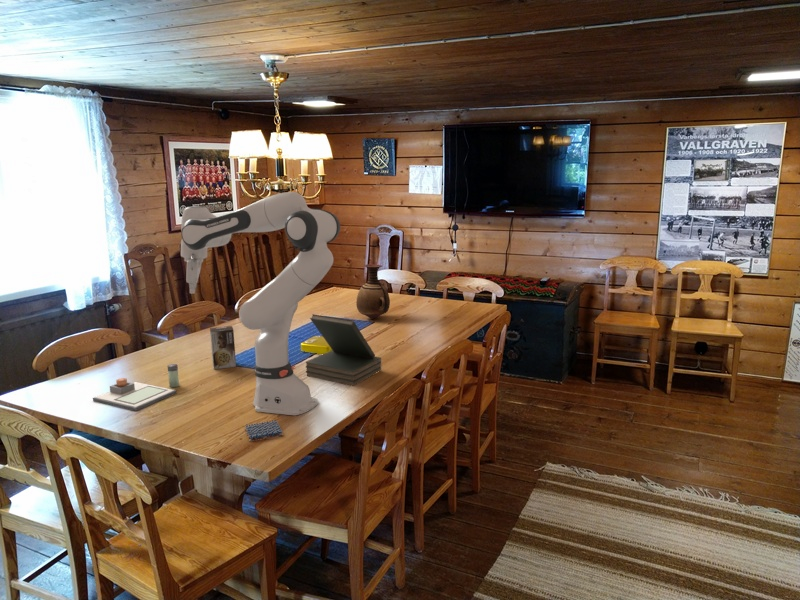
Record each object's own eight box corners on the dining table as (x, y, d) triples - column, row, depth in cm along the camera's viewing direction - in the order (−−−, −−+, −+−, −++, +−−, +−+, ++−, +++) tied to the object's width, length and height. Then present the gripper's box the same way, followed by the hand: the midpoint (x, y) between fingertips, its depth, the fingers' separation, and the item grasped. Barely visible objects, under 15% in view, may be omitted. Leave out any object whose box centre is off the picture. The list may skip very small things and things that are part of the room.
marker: (181, 385, 217) (179, 364, 215) (174, 388, 214) (172, 367, 212) (174, 383, 218) (172, 363, 217) (167, 386, 215) (165, 366, 214)
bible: (381, 372, 232) (380, 312, 227) (353, 387, 215) (352, 322, 210) (335, 363, 243) (334, 305, 238) (305, 376, 227) (303, 315, 222)
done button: (129, 384, 208) (128, 379, 208) (121, 387, 205) (120, 382, 205) (122, 383, 210) (122, 377, 209) (114, 386, 207) (114, 380, 206)
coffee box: (234, 362, 243) (232, 325, 240) (236, 367, 237) (234, 329, 234) (212, 364, 240) (209, 327, 237) (213, 369, 234) (210, 331, 231)
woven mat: (277, 424, 184) (277, 418, 183) (284, 437, 174) (284, 431, 174) (244, 429, 180) (243, 423, 179) (249, 444, 170) (249, 437, 170)
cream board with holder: (176, 392, 209) (176, 383, 208) (135, 410, 193) (134, 401, 192) (135, 384, 218) (134, 375, 217) (93, 400, 202) (92, 391, 201)
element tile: (329, 356, 252) (329, 346, 251) (299, 353, 257) (298, 342, 256) (343, 347, 266) (343, 337, 265) (315, 344, 271) (314, 334, 270)
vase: (353, 315, 324) (352, 263, 318) (384, 313, 329) (383, 261, 323) (362, 324, 304) (361, 268, 298) (394, 322, 309) (394, 267, 303)
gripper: (202, 257, 194) (201, 297, 197) (204, 247, 213) (203, 284, 216) (182, 256, 192) (181, 296, 195) (186, 246, 211) (185, 283, 214)
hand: (193, 290), depth 205 cm, fingers open, 8 cm apart
